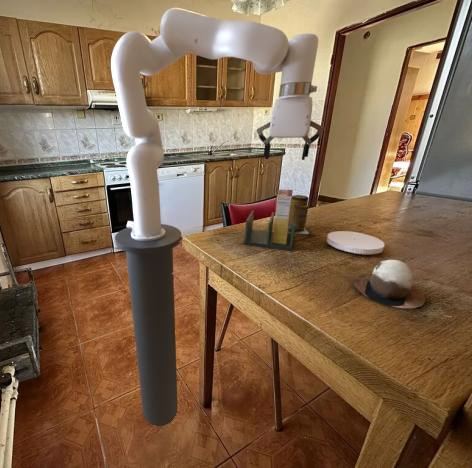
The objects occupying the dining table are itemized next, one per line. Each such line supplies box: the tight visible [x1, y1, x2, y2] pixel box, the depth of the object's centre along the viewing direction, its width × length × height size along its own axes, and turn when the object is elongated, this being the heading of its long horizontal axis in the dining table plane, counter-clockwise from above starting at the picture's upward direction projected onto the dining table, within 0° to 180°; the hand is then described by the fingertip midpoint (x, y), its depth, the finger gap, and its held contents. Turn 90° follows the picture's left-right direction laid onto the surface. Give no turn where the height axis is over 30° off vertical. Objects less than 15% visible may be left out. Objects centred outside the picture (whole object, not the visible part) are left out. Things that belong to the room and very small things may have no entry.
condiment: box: [288, 194, 310, 235], centre depth 90 cm, size 7×8×12 cm
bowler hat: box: [353, 259, 426, 309], centre depth 56 cm, size 12×10×10 cm
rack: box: [243, 210, 296, 252], centre depth 83 cm, size 14×12×8 cm
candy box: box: [273, 189, 293, 245], centre depth 80 cm, size 9×4×15 cm, turn 154°
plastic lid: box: [326, 230, 386, 255], centre depth 77 cm, size 14×14×2 cm
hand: (284, 159), depth 75 cm, fingers open, 9 cm apart
